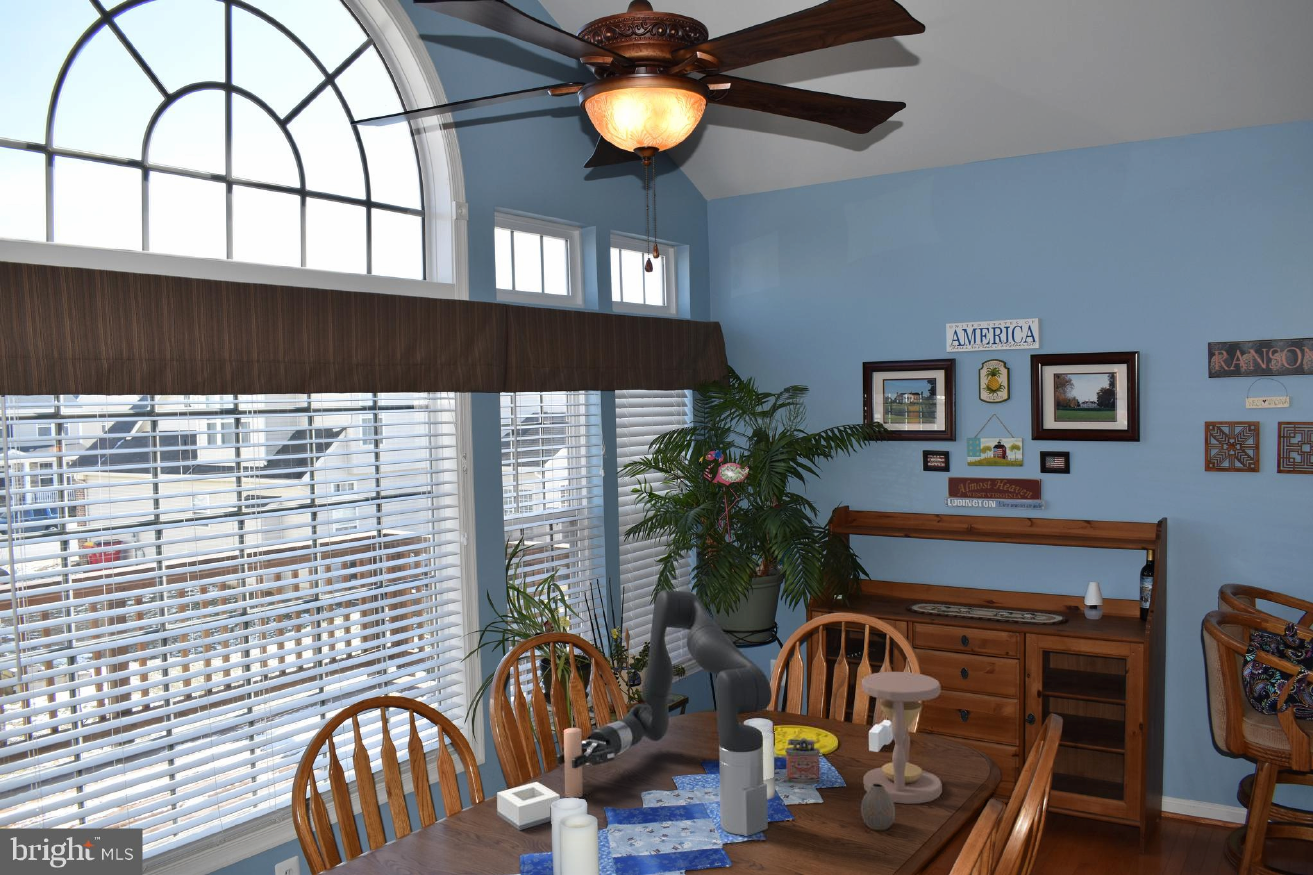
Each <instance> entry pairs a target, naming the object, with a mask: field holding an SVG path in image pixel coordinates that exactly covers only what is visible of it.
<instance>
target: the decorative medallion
mask: <svg viewBox="0 0 1313 875" xmlns="http://www.w3.org/2000/svg"><path fill="white" fill-rule="evenodd" d="M773 726H774V731H775V732H774V733H775V754H776V756H775V757H777V756H785V757H786V753H785V749H786V748H790V747H794V745H788V740H789V739H798V740H801V739H802V738H806V739H807V740H814V748H818V749H819V750H820V754H825V755H827V754H830V753H832V752H834V751H835V750H836V749H838V746H839V740H838V738H837V737H836V735H834V734H833V733H831V732H829V731H826V730H824V729H821V728H816V727H812V726H806V725H805V726H804V725H788V724H787V725H785V724H784V725H773ZM797 747H799V746H797ZM809 747H810V746H809ZM810 748H811V747H810ZM785 757H784V758H785Z"/></svg>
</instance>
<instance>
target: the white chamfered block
mask: <svg viewBox="0 0 1313 875" xmlns="http://www.w3.org/2000/svg"><path fill="white" fill-rule="evenodd" d="M893 740H894V737H893V733H892V723H891V722H890V720H889V719H883V721H881V722H880V723H875V724H874V725H873V727H871V728H870V730H869V731H868V751H869V752H876V753H878V752H880V750H881V749H882V748H883V746H884V745H887V746H888V745H890V744H891V743H892V741H893Z"/></svg>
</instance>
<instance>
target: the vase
mask: <svg viewBox="0 0 1313 875" xmlns="http://www.w3.org/2000/svg"><path fill="white" fill-rule="evenodd" d="M860 808H861V809H860V811H861V816H862V819H863V822H864V823H865V824H866V826H867V827H869V829H871V830H873V831H885V830H887V829H889V828H890V827H891V826H892V825H893V822H894V820H895V816H896V806H895V802H893V800H892V798H891V796H890V795H889V794H888V792H887V791H886V790H885V788H884V786H883V785H882V784H880V783H874V784H872V786H871V788H870V789H869V791H868V792H867V791H866V793H865V794H864V796H863V798H862V800H861V805H860Z"/></svg>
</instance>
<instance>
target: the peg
mask: <svg viewBox="0 0 1313 875" xmlns="http://www.w3.org/2000/svg"><path fill="white" fill-rule="evenodd" d="M581 741H582V728H578V727H569V728H566V729H564V730H563V745H564V762H565V763H564V797H565V798H567V797H580V798H582V797H583V793H584V792H583V765H582V766H580V767H578V768H576V769H574V768H572V759H573V758H575V757H577V756H580V755H581V754H582V742H581ZM565 795H567V796H565Z"/></svg>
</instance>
